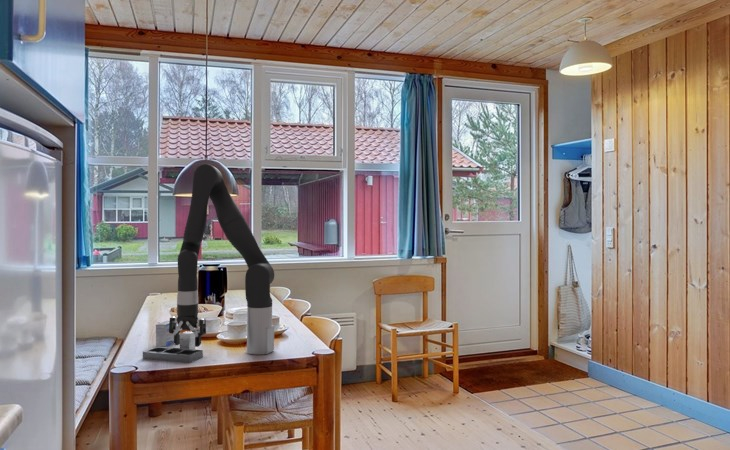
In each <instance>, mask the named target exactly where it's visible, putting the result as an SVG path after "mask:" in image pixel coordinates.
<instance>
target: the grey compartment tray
mask: <svg viewBox="0 0 730 450" xmlns="http://www.w3.org/2000/svg"><path fill="white" fill-rule="evenodd" d="M203 353H204V351H203V350H202V349H195V350H194V349H183V348H180V347H171V346H170V347H169V346H167V347H162V346H154V347H152V348H149V349H147V350H144V351H142V359H144V360H154V361H155V360H156V361H165V362H175V363H184V364H185V363H188V364H191V363H193V362H195V361H197V360H200V359H201V358H203V357H204V354H203Z"/></svg>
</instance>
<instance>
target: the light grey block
mask: <svg viewBox="0 0 730 450" xmlns="http://www.w3.org/2000/svg"><path fill="white" fill-rule="evenodd" d="M179 334H180V344H179V348H183V349H194V350H196V347H195V337H196V336H195V334H194V333H193V332H192V331H189V330H188V331H187V330H186V331H183V332H180V333H179Z"/></svg>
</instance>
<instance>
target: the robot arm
mask: <svg viewBox="0 0 730 450" xmlns="http://www.w3.org/2000/svg"><path fill="white" fill-rule="evenodd" d="M191 189H192V191H191V198H190V205H189V211H188V215H187V219H186V224H185V227H184V230H183V232H184V233H183V236H182V237H183V240H182V243H181V247H180V251H179V254H178V256H177V273H178V274H177V275H178V279H177V295H176V315H177V316H171V317H169V321H170V322H169V333H172V334H173V335H174V343H173V344H174V345H175V346H178V345H179V346H180V333H182V330H183V331H184V330H186V331H187V330H188V331H190V332H193V333H194V334H195V348H196V347H197V348H199V347H200V345H201V344H202V336H204V335H206V334H207V324H206V323H207V321H206V318H204V317H203V318H199V315H198V314H199V292H198V286H199V284H198V283H199V282H198V276H197V275H198V260H199V255H200V250H201V245H202V244H201V243H202V242H203V239H204V235H205V231H206V226H207V221H208V220H207V219H208V203H209V199H210V200H211V203H212V204H213V207H214V210H215V213H216V218H217V220H218V223H219V226H220V228H221V229H222V232H223V234H224V236H225V237H226V239H227V241H228V242H229V243H230V244H231V246H232V247H234V249H236V251H237V252H238V253H239V254H240V255H241V257H242V258H243V260H244V262H245V263H246V266H247V270H246V272H245V276H244V278H245V279H244V283H245V285H244V286H245V291H244V292H245V300H246V303H247V304H246V307H247V308H246V310H247V311H246V353H247V354H249V355H257V356H258V355H268V354H270V353H272V352H274V351H275V325H274V324H273V298H272V296H271V284H272V283H273V282H274V280H275V271H274V268H273V266H272V265H271V263H270V262H269V261H268V259H267V258H266V256H265V254H264V253H263V252H262V250H261V248H260V246H259V244H258V242H257V241H256V238H255V235H254V234H253V232H252V230H251V228H250V227H249V225H248V222H247V221H246V218H245V216H244V215H243V214H242V211H241V210H240V208H239V207H238V204H236V202H235V200H234V199H233V197H232V196H231V194H230V191H229V189H228V187H227V184H226V182H225V179H224V177H223V174H222V172H221V171H220V169H218V168H217V167H215V166H213V165H212V164H209V163H201V164H200V165H198V166H196V168H195V169H194V172H193V176H192V188H191ZM176 322H177V327H176ZM273 350H274V351H273Z"/></svg>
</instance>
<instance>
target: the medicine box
mask: <svg viewBox="0 0 730 450" xmlns="http://www.w3.org/2000/svg"><path fill="white" fill-rule="evenodd" d="M169 322H170V320H166V321H162V322H160V323H157V324H155V347H157V346H159V347H169V346H171V345H173V344H175V343H174V335H173V334H172V333H169ZM177 326H178V322H176V327H177Z"/></svg>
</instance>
